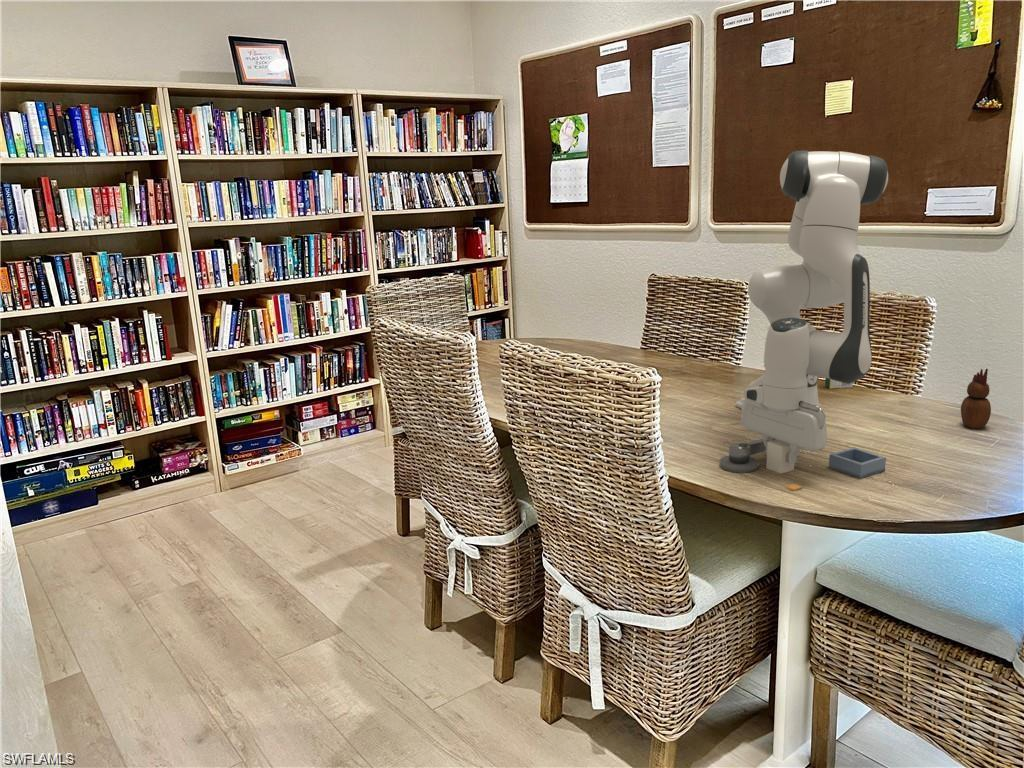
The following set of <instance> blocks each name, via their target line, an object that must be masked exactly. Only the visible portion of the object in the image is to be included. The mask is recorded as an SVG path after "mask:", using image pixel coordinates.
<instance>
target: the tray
mask: <svg viewBox="0 0 1024 768" xmlns="http://www.w3.org/2000/svg"><path fill="white" fill-rule="evenodd" d="M828 458H829V461H828V468H829V469H832V470H836V471H837V472H840V473H844V474H846V475H849V476H851V477H854V478H857V479H863V478H867V477H870V476H873V475H877V474H879V473H883V472H886V464H887V457H886V456H882V455H879V454H877V453H873V452H871V451H867V450H864V449H861V448H858V447H851V448H847V449H846V448H845V449H843V450H840V451H836V452H833V453H830V454H829V457H828Z"/></svg>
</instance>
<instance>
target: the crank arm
mask: <svg viewBox="0 0 1024 768" xmlns="http://www.w3.org/2000/svg"><path fill="white" fill-rule="evenodd" d="M773 440H776V439H775V438H772V441H773ZM764 452H766V447H765V445H764V442H763V440H762V438H759V439H754V440H751V441H747V442H732V443H730V444H729V445H728V455H729V461H731V462H734V463H748V462H749V461H750V457H751V456H753V455H756V454H760V453H764Z"/></svg>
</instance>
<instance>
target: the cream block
mask: <svg viewBox="0 0 1024 768" xmlns="http://www.w3.org/2000/svg"><path fill="white" fill-rule="evenodd" d="M791 450H792V449H791V448H790V444H789V443H786V442H783V441H780V440H777V439H776V440H773V441H769V442H768V444H767V455H766V469H768V470H770V471H772V472H775V473H778V474H780V475H781V474H785V473H788V472H791V471H795V463H793V464H791V463H788V462H786V461H785V459H786V454H789V453H790V452H791Z"/></svg>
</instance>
